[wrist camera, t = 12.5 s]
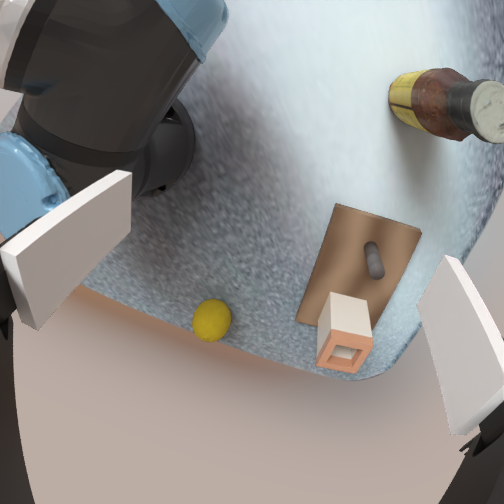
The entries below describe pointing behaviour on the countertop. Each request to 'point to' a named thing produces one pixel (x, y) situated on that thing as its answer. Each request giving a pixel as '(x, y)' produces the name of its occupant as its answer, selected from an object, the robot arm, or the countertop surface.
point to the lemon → (211, 320)
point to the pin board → (358, 262)
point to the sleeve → (343, 333)
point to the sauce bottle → (449, 104)
